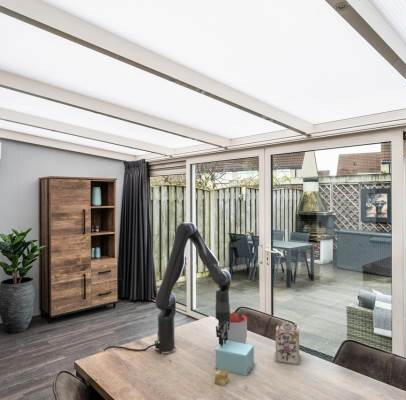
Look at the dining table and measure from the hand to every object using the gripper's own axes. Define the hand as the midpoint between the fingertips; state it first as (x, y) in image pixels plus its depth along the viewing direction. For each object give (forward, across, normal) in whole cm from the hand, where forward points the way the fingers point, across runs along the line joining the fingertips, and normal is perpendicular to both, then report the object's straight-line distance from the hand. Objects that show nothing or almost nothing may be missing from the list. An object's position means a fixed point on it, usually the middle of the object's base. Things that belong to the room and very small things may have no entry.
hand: (223, 342), depth 169 cm
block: (+11, +17, +6) cm, 21 cm away
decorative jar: (+11, -20, +28) cm, 37 cm away
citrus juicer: (+11, -22, -2) cm, 25 cm away
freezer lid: (+2, 0, +6) cm, 6 cm away
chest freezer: (+11, 0, +6) cm, 13 cm away
